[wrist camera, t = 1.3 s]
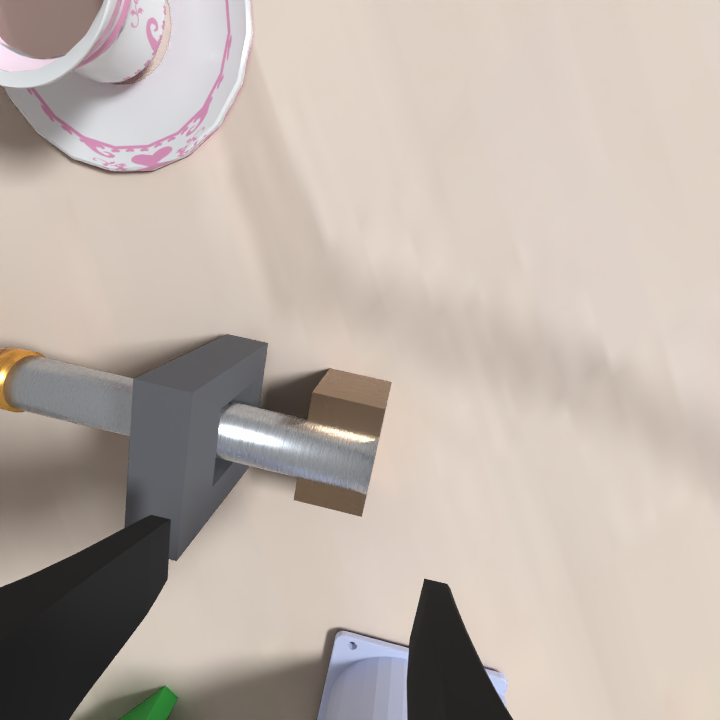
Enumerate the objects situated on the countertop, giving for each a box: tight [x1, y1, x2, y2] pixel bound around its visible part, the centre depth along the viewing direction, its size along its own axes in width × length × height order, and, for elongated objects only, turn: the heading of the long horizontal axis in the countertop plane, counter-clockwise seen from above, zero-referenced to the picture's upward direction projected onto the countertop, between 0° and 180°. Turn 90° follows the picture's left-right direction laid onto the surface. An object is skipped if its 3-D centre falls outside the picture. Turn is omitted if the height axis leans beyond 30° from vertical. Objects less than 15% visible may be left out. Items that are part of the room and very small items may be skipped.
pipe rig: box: [0, 347, 391, 517], centre depth 21 cm, size 24×5×5 cm, turn 79°
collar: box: [125, 334, 268, 561], centre depth 19 cm, size 2×6×7 cm, turn 169°
